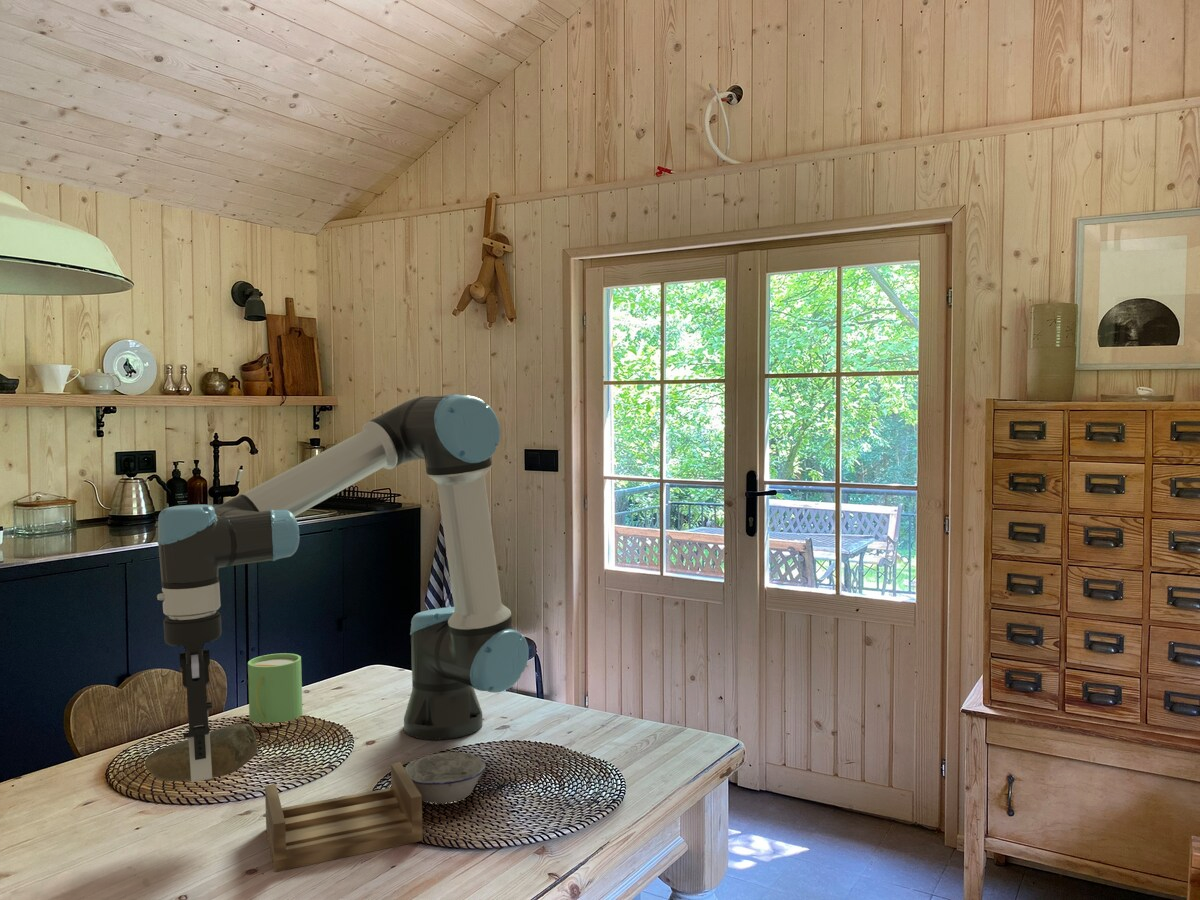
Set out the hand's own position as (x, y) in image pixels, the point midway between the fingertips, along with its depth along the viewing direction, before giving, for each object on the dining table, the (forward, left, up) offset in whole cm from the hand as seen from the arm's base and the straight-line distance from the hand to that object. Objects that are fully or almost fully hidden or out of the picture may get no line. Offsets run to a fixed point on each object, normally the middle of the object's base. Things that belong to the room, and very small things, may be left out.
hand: (201, 767), depth 130 cm
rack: (-18, +8, -10) cm, 23 cm away
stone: (0, 0, -1) cm, 1 cm away
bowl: (-35, +1, -11) cm, 37 cm away
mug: (-13, -49, -11) cm, 52 cm away
